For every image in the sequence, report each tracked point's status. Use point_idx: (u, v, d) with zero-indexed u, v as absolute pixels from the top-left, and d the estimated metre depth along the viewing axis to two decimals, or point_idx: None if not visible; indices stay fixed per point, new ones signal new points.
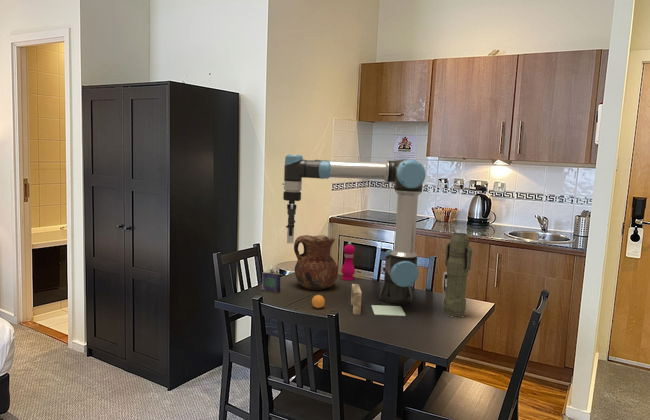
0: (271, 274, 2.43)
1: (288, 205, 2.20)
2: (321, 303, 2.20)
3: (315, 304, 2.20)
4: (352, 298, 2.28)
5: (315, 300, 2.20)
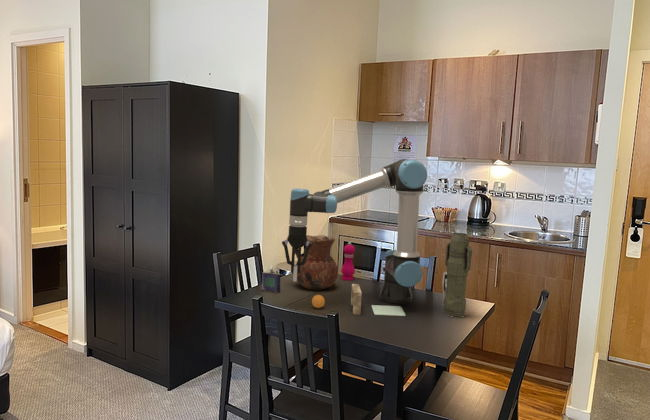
0: (271, 274, 2.43)
1: (301, 241, 2.18)
2: (321, 303, 2.20)
3: (315, 304, 2.20)
4: (352, 298, 2.28)
5: (315, 300, 2.20)
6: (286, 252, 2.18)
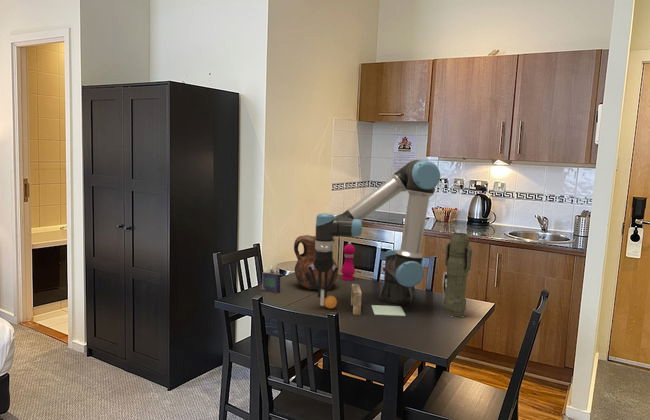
0: (271, 274, 2.43)
1: (327, 265, 2.19)
2: (331, 306, 2.20)
3: (328, 300, 2.20)
4: (352, 298, 2.28)
5: (332, 300, 2.20)
6: (313, 277, 2.20)
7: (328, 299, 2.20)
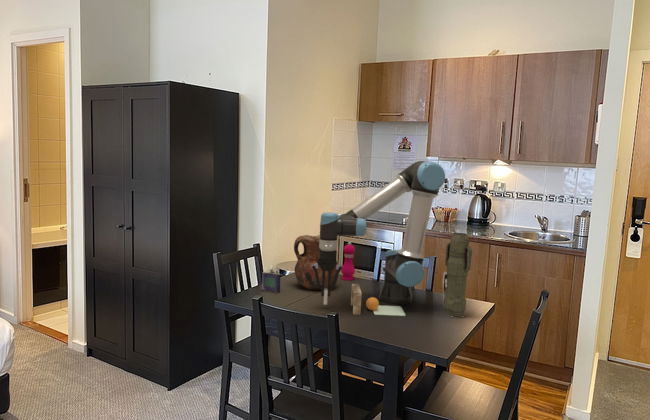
0: (271, 274, 2.43)
1: (331, 265, 2.19)
2: (372, 308, 2.21)
3: (372, 302, 2.20)
4: (352, 298, 2.28)
5: (376, 302, 2.21)
6: (316, 276, 2.20)
7: (372, 300, 2.21)
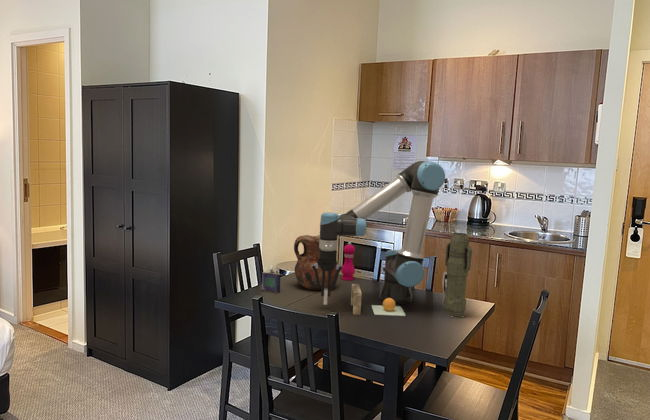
0: (271, 274, 2.43)
1: (331, 265, 2.19)
2: (388, 303, 2.20)
3: (392, 308, 2.21)
4: (352, 298, 2.28)
5: (388, 309, 2.21)
6: (316, 276, 2.20)
7: (392, 308, 2.21)
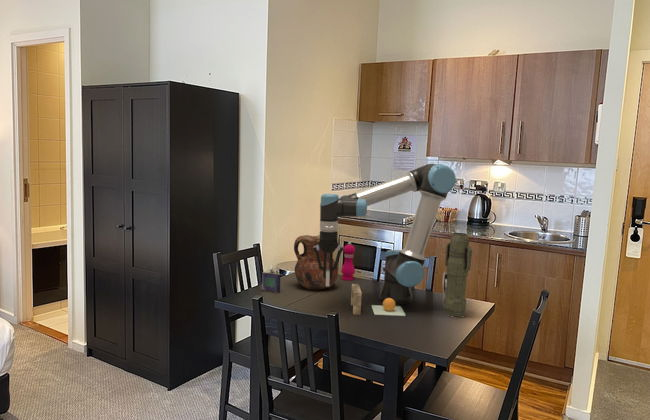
0: (271, 274, 2.43)
1: (332, 246, 2.18)
2: (388, 303, 2.20)
3: (392, 308, 2.21)
4: (352, 298, 2.28)
5: (388, 309, 2.21)
6: (318, 257, 2.19)
7: (392, 308, 2.21)
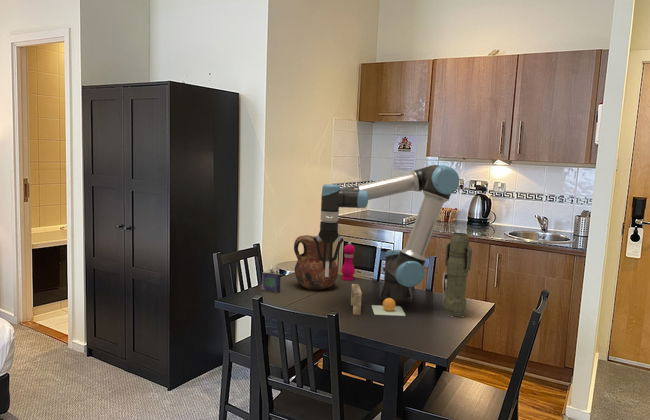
0: (271, 274, 2.43)
1: (333, 236, 2.18)
2: (388, 303, 2.20)
3: (392, 308, 2.21)
4: (352, 298, 2.28)
5: (388, 309, 2.21)
6: (318, 248, 2.19)
7: (392, 308, 2.21)
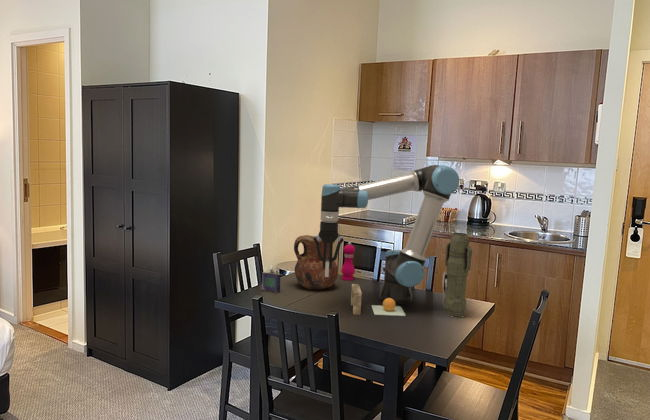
0: (271, 274, 2.43)
1: (333, 236, 2.18)
2: (388, 303, 2.20)
3: (392, 308, 2.21)
4: (352, 298, 2.28)
5: (388, 309, 2.21)
6: (318, 248, 2.19)
7: (392, 308, 2.21)
